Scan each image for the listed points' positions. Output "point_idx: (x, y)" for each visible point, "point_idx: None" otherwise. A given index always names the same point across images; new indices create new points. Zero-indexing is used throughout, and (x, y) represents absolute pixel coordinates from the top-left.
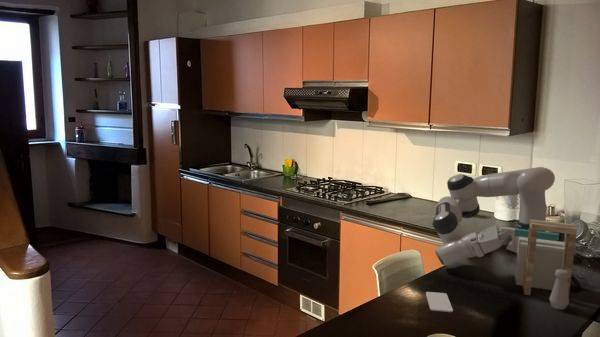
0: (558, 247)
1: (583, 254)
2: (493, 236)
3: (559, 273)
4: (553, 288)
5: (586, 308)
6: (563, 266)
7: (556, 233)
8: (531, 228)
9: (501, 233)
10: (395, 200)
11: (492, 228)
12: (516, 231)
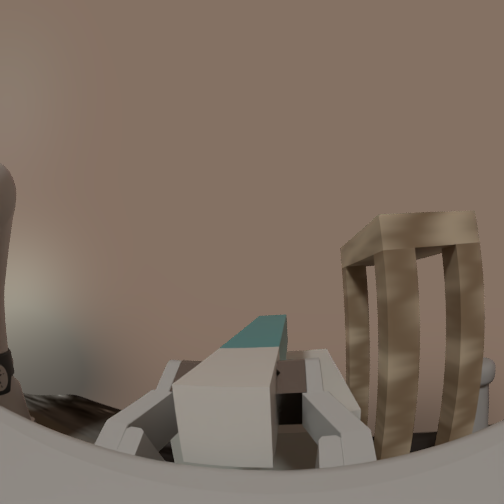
0: (316, 357)
1: (54, 395)
2: (498, 473)
3: (494, 364)
4: (482, 422)
5: (414, 439)
6: (368, 397)
7: (266, 316)
8: (478, 236)
9: (353, 429)
10: None
11: (2, 448)
12: (280, 357)
